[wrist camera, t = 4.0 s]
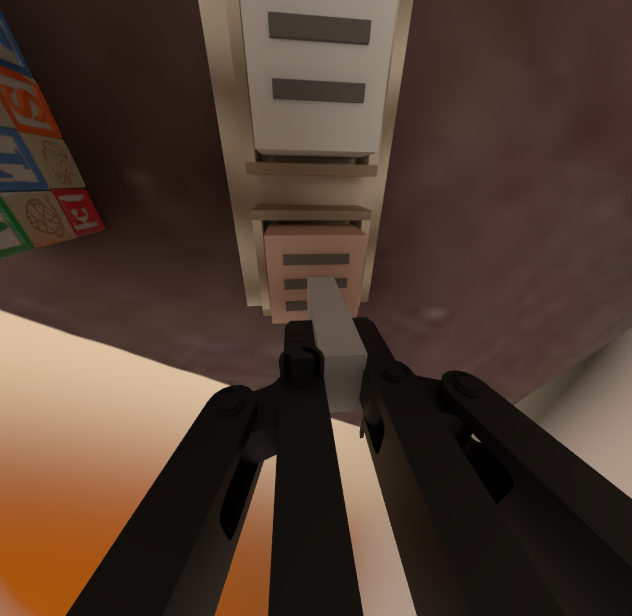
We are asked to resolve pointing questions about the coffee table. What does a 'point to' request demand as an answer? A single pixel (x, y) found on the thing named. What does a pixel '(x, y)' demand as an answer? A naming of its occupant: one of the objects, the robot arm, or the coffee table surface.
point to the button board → (291, 157)
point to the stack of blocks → (35, 165)
